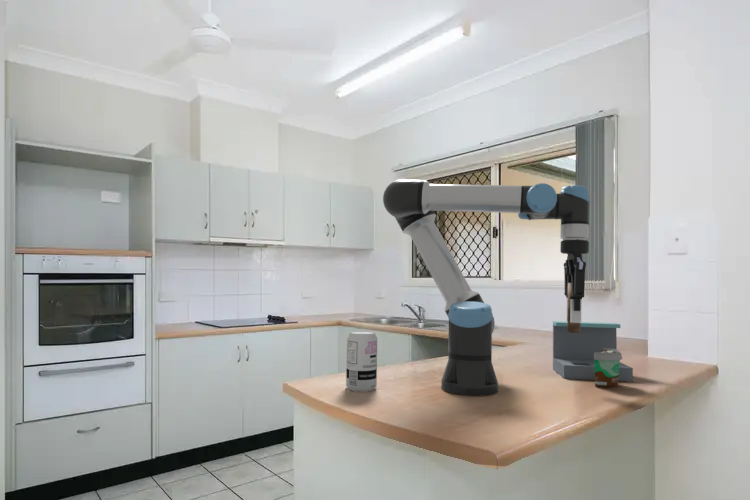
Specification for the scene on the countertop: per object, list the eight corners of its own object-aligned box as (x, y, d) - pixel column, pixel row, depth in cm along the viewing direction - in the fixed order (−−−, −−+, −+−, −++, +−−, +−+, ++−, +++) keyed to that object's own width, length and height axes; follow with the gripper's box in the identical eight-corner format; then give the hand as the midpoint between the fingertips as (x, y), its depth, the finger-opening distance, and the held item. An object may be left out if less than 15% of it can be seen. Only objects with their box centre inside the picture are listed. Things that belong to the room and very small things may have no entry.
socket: (563, 378, 148) (563, 325, 149) (552, 369, 162) (552, 321, 162) (632, 381, 145) (632, 327, 146) (615, 372, 159) (615, 323, 160)
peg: (569, 332, 135) (569, 282, 136) (565, 331, 139) (566, 282, 139) (581, 333, 135) (582, 283, 136) (578, 331, 138) (578, 283, 139)
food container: (617, 391, 132) (617, 354, 133) (593, 387, 136) (593, 352, 136) (626, 383, 142) (626, 349, 142) (603, 380, 146) (603, 347, 146)
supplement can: (350, 384, 134) (351, 330, 135) (379, 386, 133) (380, 331, 133) (342, 391, 126) (343, 333, 127) (373, 393, 125) (374, 335, 125)
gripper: (597, 237, 129) (597, 325, 128) (579, 242, 146) (578, 319, 145) (568, 237, 130) (567, 324, 129) (554, 241, 147) (553, 318, 146)
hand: (573, 321), depth 137 cm, fingers closed on peg, 3 cm apart
